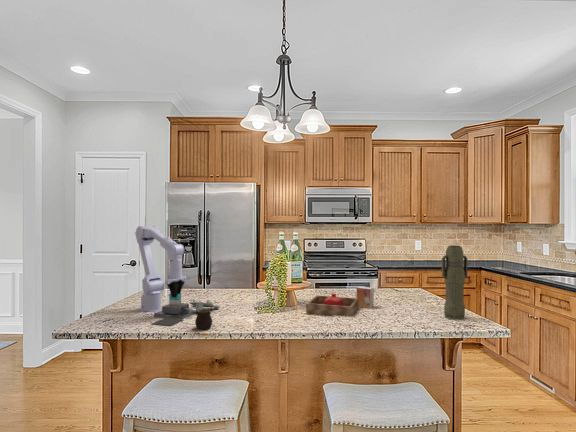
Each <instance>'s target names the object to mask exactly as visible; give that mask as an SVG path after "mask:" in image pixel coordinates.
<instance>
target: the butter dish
mask: <svg viewBox="0 0 576 432" xmlns="http://www.w3.org/2000/svg"><path fill="white" fill-rule="evenodd" d="M339 297H340V296H337V293H331V297H327V298H326V299H325V300H324V305H337V306H344V304H343V300H342V299H341V298H339Z"/></svg>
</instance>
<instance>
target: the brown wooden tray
mask: <svg viewBox="0 0 576 432" xmlns="http://www.w3.org/2000/svg"><path fill="white" fill-rule="evenodd" d="M331 296H332V295H331ZM331 296H328V295H316V296H314V297H313V298H312V299H310V300H308V302H306V303H305V313H306V314H307V315H319V316H327V315H328V316H329V317H334V316H343V317H353V316H354V314H355V312H357V310H359V308H360V307H359V298H356V297H344V296H342V297H341V296H338V297H339V298H341V299H342V300H343V304H344V306H337V305H324V300H325V299H326V298H327V297H331Z"/></svg>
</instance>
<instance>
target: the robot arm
mask: <svg viewBox="0 0 576 432" xmlns="http://www.w3.org/2000/svg"><path fill="white" fill-rule="evenodd" d="M134 234H135V237H136V238H135V239H136V243H137V244H138V248H139V249H138V250H139V252H140V256H141V261H142V264H143V269H144V272H145V274H144V275H145V276H144V277H143V279H142V280H141V283H142V288H141V289H142V291H143V293H142V294H141V297H140V310H139V311H140V312H149V313H150V312H151V313H157V312H160V311H162V293H163V290H165V287H166V286H165V285H167V287H168V289H169V291H170V293H171V296H172V297H176V295H177V293H181V292H182V289H183V287H184V286H185V281H186V280H187V276H186V275H183V255H184V254H185V250H186V249H185V246H184V245H183V244H182V243H177V242H176V241H174V240H173V239H172V238H171V237H170V236H165V235H163V234H162V233H161V232H160V231H159V228H158V227H157V226H155V225H151V226H150V225H149V226H148V225H147V226H145V225H144V226H137V227H136V230H135V233H134ZM155 240H156V241H157V242H159V245H160V246H161V247H162V248H163V249H164V250H165V251H166V253H167V255H168V260H169V278H167V279H164V280H163V276H162V275H160V274H158V273H157V269H156V266H155V261H154V257H153V253H152V250H151V244H152V243H154V241H155ZM181 294H182V293H181Z"/></svg>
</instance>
